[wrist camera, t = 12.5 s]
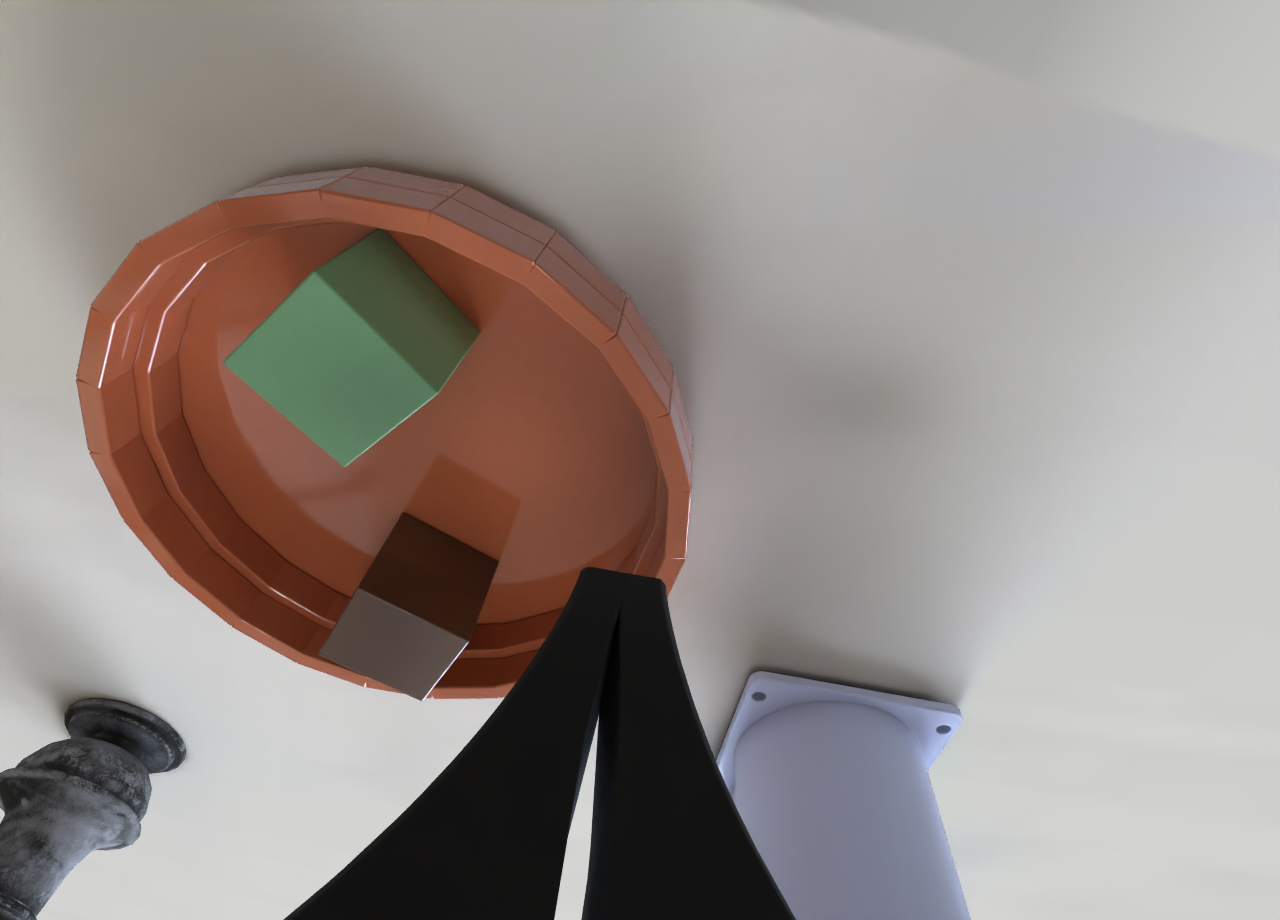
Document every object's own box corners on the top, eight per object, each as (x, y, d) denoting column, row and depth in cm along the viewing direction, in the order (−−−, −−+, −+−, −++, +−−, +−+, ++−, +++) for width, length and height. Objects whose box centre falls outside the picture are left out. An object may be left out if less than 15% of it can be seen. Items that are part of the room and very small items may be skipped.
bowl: (644, 665, 26) (637, 735, 23) (210, 587, 25) (156, 651, 23) (755, 234, 17) (763, 274, 14) (86, 105, 16) (-26, 122, 14)
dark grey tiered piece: (194, 785, 33) (-27, 1120, 23) (68, 753, 32) (-215, 1084, 23) (190, 716, 30) (-69, 1069, 20) (50, 679, 29) (-290, 1025, 19)
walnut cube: (499, 561, 23) (469, 642, 20) (456, 619, 24) (422, 702, 22) (403, 510, 22) (356, 587, 19) (365, 575, 24) (317, 655, 21)
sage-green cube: (481, 332, 18) (439, 393, 15) (398, 400, 20) (343, 468, 17) (381, 225, 17) (313, 270, 14) (298, 306, 18) (221, 363, 15)
